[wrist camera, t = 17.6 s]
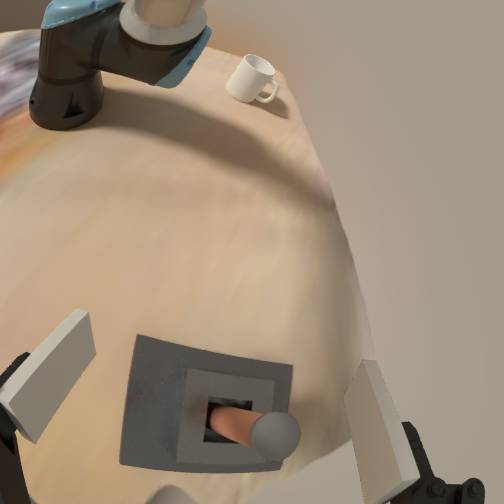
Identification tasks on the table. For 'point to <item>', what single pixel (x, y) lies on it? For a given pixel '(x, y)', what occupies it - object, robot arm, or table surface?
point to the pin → (256, 430)
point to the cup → (251, 80)
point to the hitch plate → (160, 400)
